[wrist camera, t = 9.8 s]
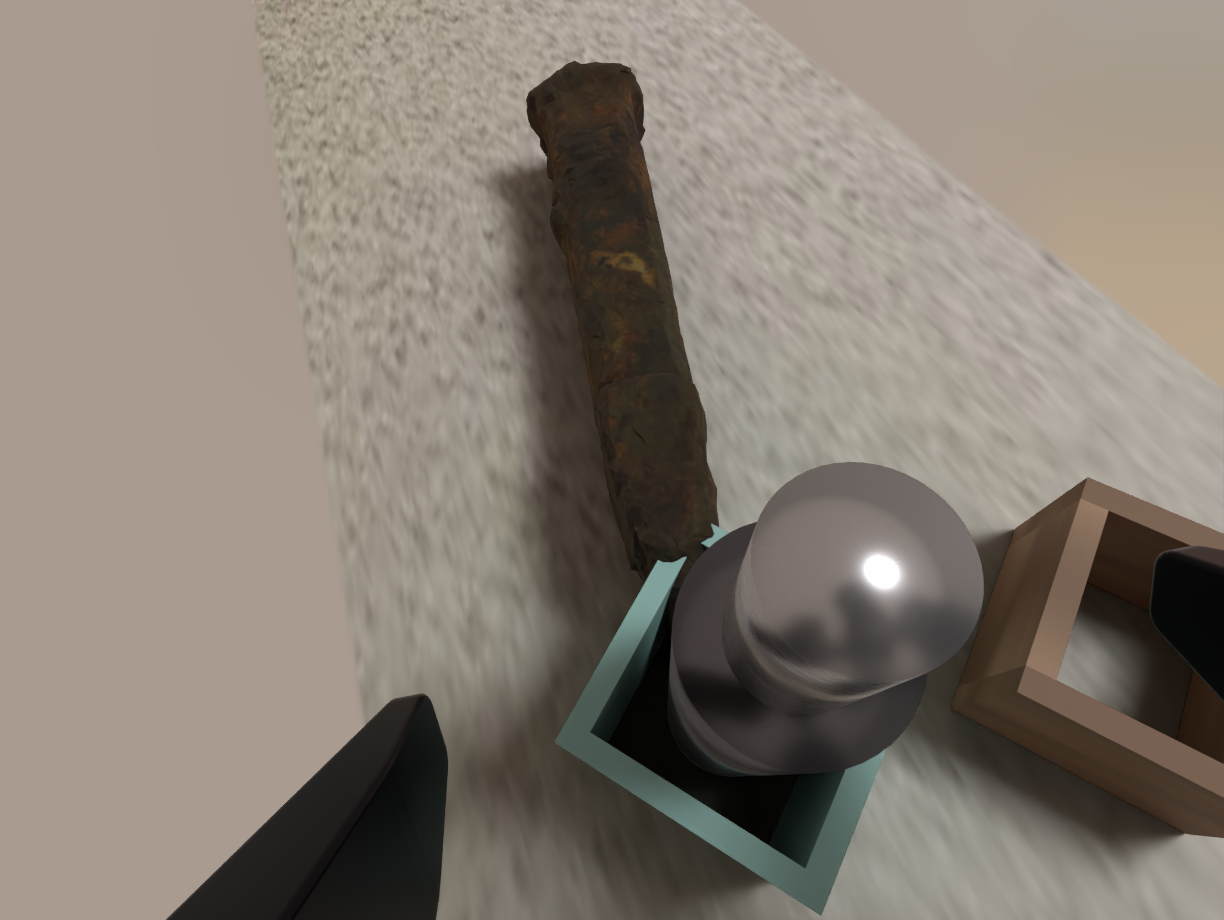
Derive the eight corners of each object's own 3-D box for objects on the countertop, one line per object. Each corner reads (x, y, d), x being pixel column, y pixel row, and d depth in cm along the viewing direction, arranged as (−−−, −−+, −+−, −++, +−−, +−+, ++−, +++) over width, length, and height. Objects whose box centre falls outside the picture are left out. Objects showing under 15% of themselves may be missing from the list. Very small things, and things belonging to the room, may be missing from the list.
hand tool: (539, 161, 26) (515, 42, 22) (643, 147, 26) (638, 24, 22) (580, 672, 18) (552, 639, 13) (732, 653, 18) (752, 615, 13)
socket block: (1186, 833, 15) (1322, 848, 12) (950, 708, 17) (1017, 692, 14) (1232, 625, 17) (1360, 591, 14) (1015, 528, 19) (1087, 477, 15)
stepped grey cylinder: (792, 777, 16) (1119, 774, 5) (668, 775, 17) (681, 766, 5) (780, 650, 18) (1013, 397, 6) (665, 650, 18) (672, 404, 6)
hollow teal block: (779, 879, 15) (821, 916, 11) (580, 751, 17) (554, 742, 13) (867, 668, 17) (930, 634, 13) (680, 568, 19) (686, 510, 15)
